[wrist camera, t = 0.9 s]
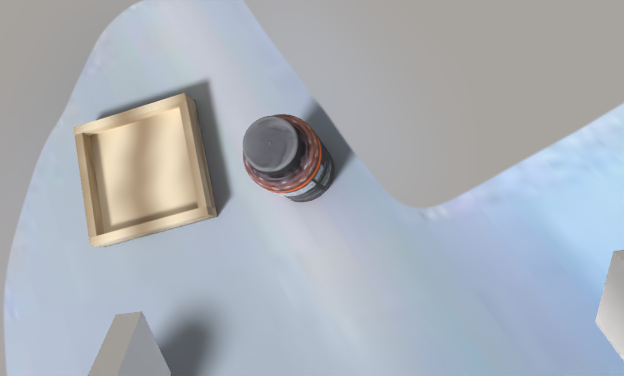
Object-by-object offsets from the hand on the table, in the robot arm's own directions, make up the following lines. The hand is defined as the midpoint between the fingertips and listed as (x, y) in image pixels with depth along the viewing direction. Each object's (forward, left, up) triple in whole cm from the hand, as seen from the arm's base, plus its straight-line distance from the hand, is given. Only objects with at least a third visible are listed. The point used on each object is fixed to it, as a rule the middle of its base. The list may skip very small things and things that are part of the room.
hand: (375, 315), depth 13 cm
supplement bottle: (+5, -11, -27) cm, 30 cm away
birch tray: (+20, -15, -27) cm, 37 cm away
